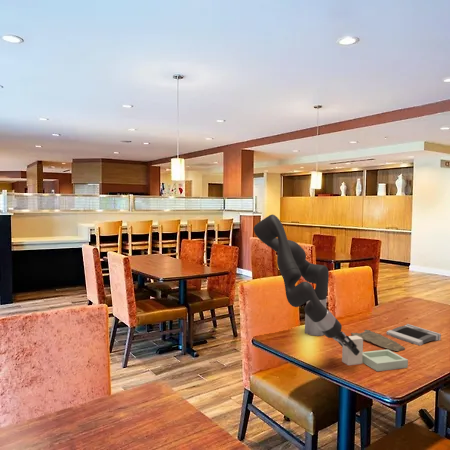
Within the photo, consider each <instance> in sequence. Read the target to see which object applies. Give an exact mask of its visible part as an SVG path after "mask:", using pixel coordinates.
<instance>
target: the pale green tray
mask: <svg viewBox="0 0 450 450" xmlns="http://www.w3.org/2000/svg"><path fill="white" fill-rule="evenodd" d="M362 364H364V365H366V366H368V367H369V368H371V369H372V370H374V371H376V372H384V371H392V370H398V369H406V368H408V366H409V359H408V358H405V357H403V356H401V355H400V354H398V353H396V352H395V351H393V350H391V349H387V348H385V349H378V350H371V351H370V350H369V351H363V359H362Z"/></svg>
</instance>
